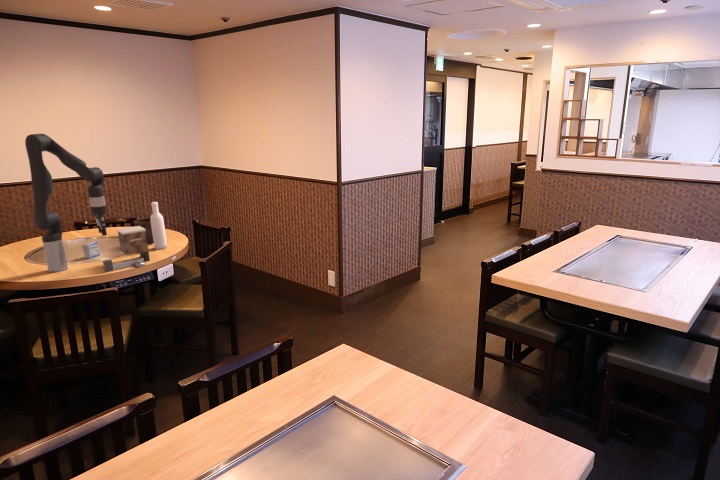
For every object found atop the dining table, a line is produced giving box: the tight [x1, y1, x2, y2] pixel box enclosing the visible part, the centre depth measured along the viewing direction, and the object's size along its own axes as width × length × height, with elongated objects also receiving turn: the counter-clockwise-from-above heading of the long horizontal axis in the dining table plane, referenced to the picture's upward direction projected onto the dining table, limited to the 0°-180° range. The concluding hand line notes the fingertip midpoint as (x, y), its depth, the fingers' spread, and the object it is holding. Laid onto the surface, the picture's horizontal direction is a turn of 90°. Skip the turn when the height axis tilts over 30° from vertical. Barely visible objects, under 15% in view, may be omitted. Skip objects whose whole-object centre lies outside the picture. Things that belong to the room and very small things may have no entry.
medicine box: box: [82, 241, 101, 259], centre depth 289 cm, size 8×4×9 cm, turn 168°
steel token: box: [134, 261, 146, 268], centre depth 267 cm, size 5×5×2 cm
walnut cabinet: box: [116, 225, 151, 262], centre depth 275 cm, size 13×14×19 cm
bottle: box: [149, 201, 168, 250], centre depth 301 cm, size 8×8×30 cm
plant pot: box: [133, 217, 154, 245], centre depth 316 cm, size 15×15×16 cm
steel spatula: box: [102, 257, 145, 273], centre depth 264 cm, size 20×3×6 cm, turn 129°
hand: (102, 234), depth 257 cm, fingers open, 8 cm apart
